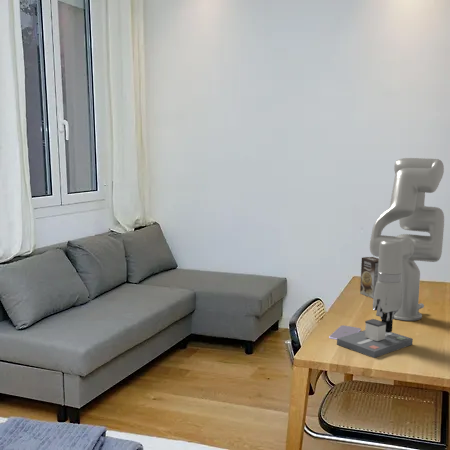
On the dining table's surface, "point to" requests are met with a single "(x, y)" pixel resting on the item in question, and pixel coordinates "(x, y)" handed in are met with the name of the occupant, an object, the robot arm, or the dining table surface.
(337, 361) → the dining table surface
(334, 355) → the dining table surface
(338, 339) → the switch panel
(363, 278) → the coffee box
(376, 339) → the slider knob
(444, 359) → the dining table surface
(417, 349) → the dining table surface
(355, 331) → the mobile phone
